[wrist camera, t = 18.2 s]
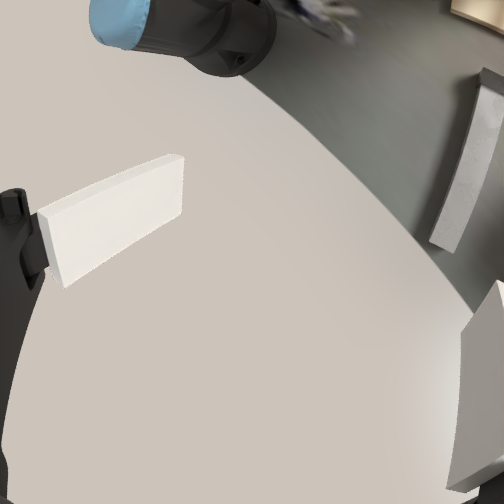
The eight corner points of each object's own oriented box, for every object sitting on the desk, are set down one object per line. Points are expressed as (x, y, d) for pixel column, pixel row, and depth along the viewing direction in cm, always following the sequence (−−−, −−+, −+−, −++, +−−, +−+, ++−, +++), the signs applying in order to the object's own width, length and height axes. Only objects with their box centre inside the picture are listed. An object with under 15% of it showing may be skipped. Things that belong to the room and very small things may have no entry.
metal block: (453, 247, 35) (455, 256, 32) (427, 233, 37) (427, 241, 34) (507, 87, 25) (513, 82, 22) (479, 73, 26) (483, 67, 23)
